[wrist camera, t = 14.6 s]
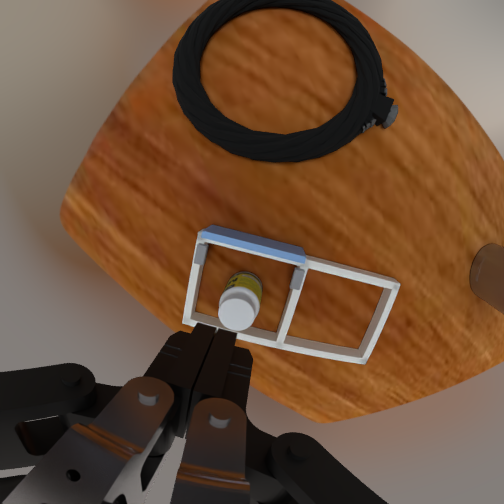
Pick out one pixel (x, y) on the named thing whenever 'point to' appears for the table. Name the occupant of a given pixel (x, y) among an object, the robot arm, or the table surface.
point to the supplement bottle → (240, 301)
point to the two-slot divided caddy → (303, 262)
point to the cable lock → (299, 143)
